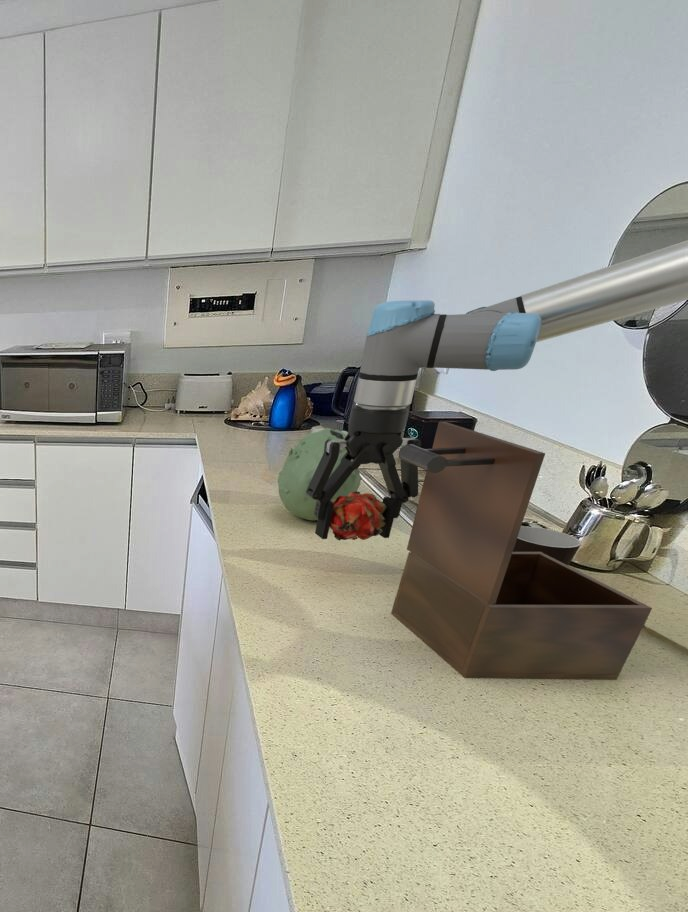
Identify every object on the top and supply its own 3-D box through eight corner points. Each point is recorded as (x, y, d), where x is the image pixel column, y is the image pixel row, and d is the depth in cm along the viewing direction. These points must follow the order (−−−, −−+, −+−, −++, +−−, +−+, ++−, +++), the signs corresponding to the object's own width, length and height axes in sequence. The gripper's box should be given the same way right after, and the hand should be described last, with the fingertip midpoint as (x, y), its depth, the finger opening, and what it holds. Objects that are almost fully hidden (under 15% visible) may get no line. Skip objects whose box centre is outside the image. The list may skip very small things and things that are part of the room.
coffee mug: (570, 597, 94) (593, 541, 90) (538, 608, 91) (561, 551, 87) (488, 568, 104) (506, 517, 100) (457, 578, 101) (475, 526, 97)
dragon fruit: (362, 534, 105) (343, 565, 98) (324, 502, 107) (302, 530, 100) (404, 506, 98) (386, 537, 91) (362, 472, 100) (341, 500, 93)
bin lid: (445, 421, 80) (379, 425, 80) (545, 453, 64) (463, 457, 65) (412, 549, 87) (352, 551, 88) (495, 604, 72) (422, 605, 73)
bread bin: (516, 613, 90) (540, 551, 86) (616, 679, 75) (652, 608, 71) (390, 613, 92) (408, 552, 88) (464, 677, 77) (490, 607, 72)
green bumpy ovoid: (273, 528, 125) (289, 437, 117) (270, 500, 140) (284, 418, 132) (358, 537, 118) (381, 442, 111) (344, 507, 134) (364, 421, 126)
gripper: (439, 398, 94) (405, 526, 103) (297, 404, 96) (276, 528, 105) (472, 407, 87) (433, 542, 96) (319, 412, 89) (294, 545, 98)
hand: (351, 535), depth 100 cm, fingers closed on dragon fruit, 9 cm apart
